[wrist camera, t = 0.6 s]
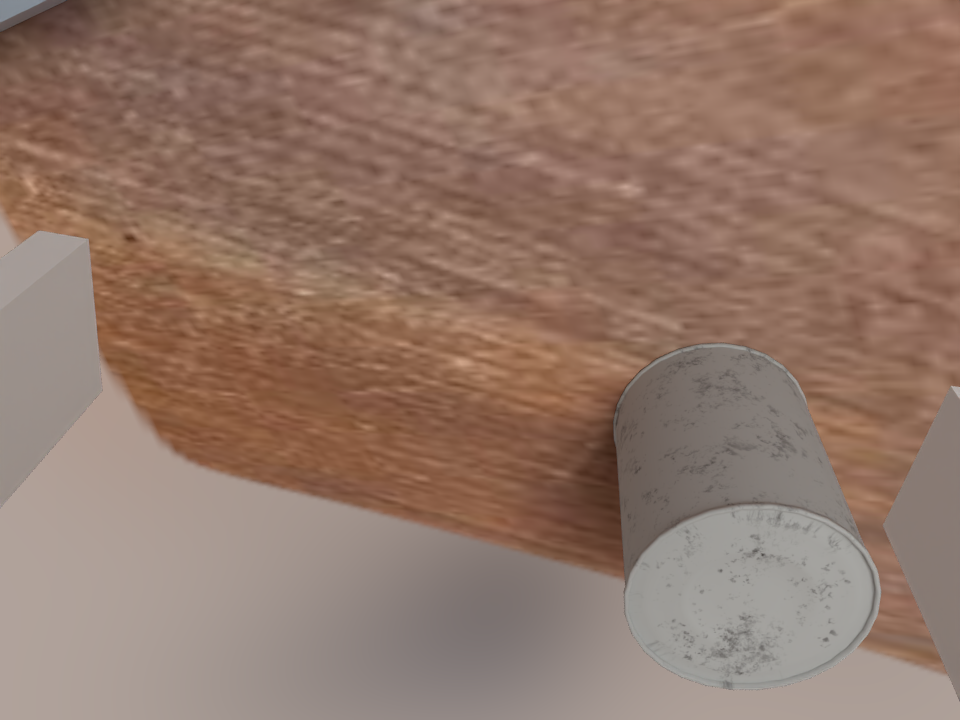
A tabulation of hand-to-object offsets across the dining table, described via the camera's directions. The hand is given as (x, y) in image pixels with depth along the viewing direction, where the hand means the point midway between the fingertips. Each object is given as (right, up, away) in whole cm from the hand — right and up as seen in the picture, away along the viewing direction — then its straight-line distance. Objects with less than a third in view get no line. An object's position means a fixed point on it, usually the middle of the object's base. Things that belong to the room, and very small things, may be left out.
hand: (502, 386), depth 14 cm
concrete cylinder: (+11, -3, +31) cm, 33 cm away
